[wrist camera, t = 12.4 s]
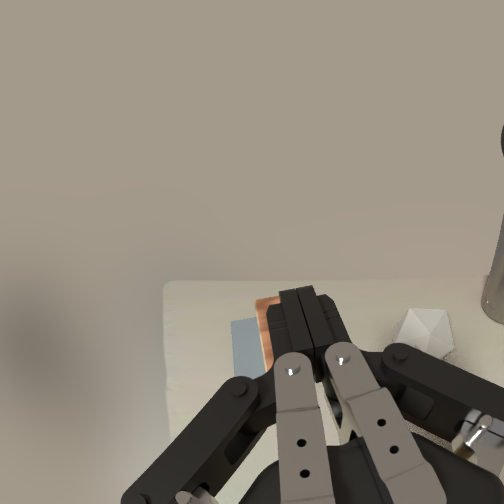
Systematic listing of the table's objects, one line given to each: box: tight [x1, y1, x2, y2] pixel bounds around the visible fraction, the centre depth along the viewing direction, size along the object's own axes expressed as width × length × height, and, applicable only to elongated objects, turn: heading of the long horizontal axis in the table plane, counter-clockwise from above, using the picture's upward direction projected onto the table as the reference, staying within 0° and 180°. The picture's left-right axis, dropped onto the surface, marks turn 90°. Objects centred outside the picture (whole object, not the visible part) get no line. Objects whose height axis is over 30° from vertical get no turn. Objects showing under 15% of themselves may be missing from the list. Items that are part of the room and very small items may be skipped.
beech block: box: [254, 296, 280, 372], centre depth 43 cm, size 5×5×14 cm
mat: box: [231, 317, 315, 379], centre depth 46 cm, size 14×14×1 cm
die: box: [393, 308, 454, 360], centre depth 37 cm, size 8×9×10 cm
